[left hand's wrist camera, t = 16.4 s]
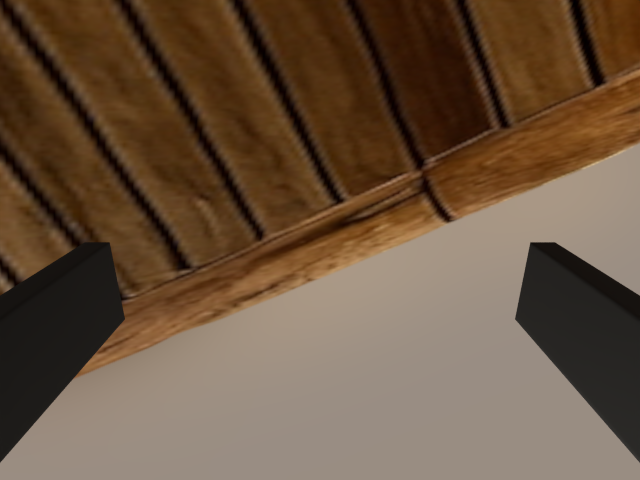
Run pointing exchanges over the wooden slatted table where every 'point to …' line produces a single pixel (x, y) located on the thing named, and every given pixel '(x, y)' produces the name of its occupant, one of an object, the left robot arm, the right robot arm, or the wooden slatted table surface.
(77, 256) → the left robot arm
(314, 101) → the wooden slatted table surface
